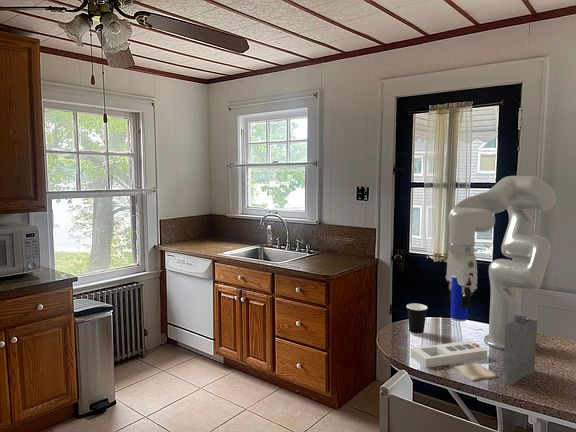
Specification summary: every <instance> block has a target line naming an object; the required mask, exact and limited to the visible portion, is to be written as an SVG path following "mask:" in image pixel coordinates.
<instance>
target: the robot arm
mask: <svg viewBox="0 0 576 432" xmlns="http://www.w3.org/2000/svg"><path fill="white" fill-rule="evenodd" d="M556 201H557V195H556V191H555V190H554V188H553V187H551V186H550V184H548V183H547V182H545V181H544V180H543V179H541V178H540V177H538V176H534V175H509V176H505V177H502V178H501V179H500V180H499V181H498V182H496V183H495V184H494V185H493V186H491V188H490V189H488V190H487V191H485V192H480V193H479V194H475V195H472V196H469V197H466V198H464V199H462V200H461V201H459V202H458V203H457V204H455V205H454V206H453V207H452V208H451V210H450V211H449V213H448V216H447V217H448V218H447V221H448V224H449V233H448V234H449V237H448V238H449V239H448V256H447V263H446V275H445V280H446V281H447V284H448V289H449V303H451V291H452V276H453V275H455V276H456V278H457V282H458V285H460V286H461V288H462V294H463V295H461V308H468V309H470V308H471V307H472V306H471V304H472V296H473V293H475V291H476V290H477V289H478V286H477V285H478V265H477V263H478V262H477V257H476V254H475V246H476V245H475V243H476V233H479V232H480V233H486V232H488V231H489V232H490V231H491V229H493V228H494V226H495V223H496V217H495V214H499V213H501V212H504V211H505V210H506V211H507V213H508V224H507V227H506V230H505V233H504V237H503V240H502V243H501V246H500V249H501V250H500V251H501V254H502V255H503V256H505V257H507V258H497V259H495V260H492V261H491V263H490V264H489V265H488V277H489V278H488V279H489V285H490V301H489V303H490V304H489V305H490V306H489V323H488V324H489V325H488V334H487V335H485V336H484V337H483V342H484V343H485V344H486V345H488V346H491V347H493V348H496V349H500V350H504V347H505V327H506V325H507V324H508V323H510V322H512V321H514V316H513V314H514V313H520V312H519V310H520V309H519V308H520V296H519V294H518V292H517V290H516V289H521V290H526V291H537V290H538V289H539V288H540V287H541V285H542V283H543V280H544V276H545V274H546V269H547V266H548V263H549V260H550V257H551V256H550V255H551V251H552V250H551V248H552V247H551V242H550V240H549V239H548V238H547V237H546V236H543V235H538V234H533V232H534V228H535V222H534V220H533V218H532V217H531V215H530V214H529V213H528V212H527V210H531V211H534V210H535V211H549V210H551V209H553V208H554V207H555V204H556ZM509 258H510V259H509ZM513 259H514V260H513ZM526 261H527V262H526ZM466 284H468V285H467V286H466ZM467 287H468V289H467V290H465V288H467Z"/></svg>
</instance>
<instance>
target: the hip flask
mask: <svg viewBox="0 0 576 432" xmlns="http://www.w3.org/2000/svg"><path fill="white" fill-rule="evenodd" d="M513 316H514V321H512V322H510V323H508V324H507V325H506V327H505V347H504V349H503V350H504V351H503V352H504V353H503V372H502V382H503V383H504V384H505V385H507V386H513V385H515V384H516V383H517V382H518V381H520V379H522V378H524V377H527V376H528V375H531V374H534V373H535V366H536V351H537V348H536V347H537V332H538V318H537V317H534V316H528V315H527V314H526V313H523V312H519V313H514V314H513Z"/></svg>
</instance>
